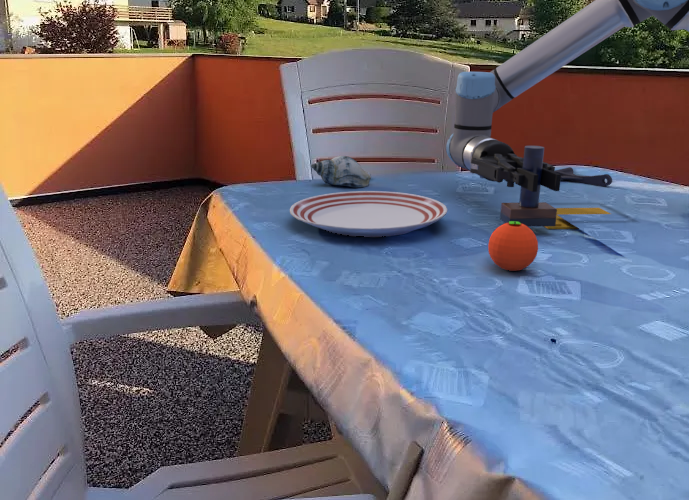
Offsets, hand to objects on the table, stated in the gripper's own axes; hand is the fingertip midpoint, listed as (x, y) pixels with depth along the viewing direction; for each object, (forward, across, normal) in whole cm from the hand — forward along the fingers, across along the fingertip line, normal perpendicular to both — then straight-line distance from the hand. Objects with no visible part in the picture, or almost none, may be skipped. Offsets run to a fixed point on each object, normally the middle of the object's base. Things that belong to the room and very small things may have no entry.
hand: (546, 183), depth 114 cm
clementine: (+13, +11, -10) cm, 20 cm away
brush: (-5, 0, -8) cm, 10 cm away
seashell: (-48, +24, -10) cm, 55 cm away
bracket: (-45, -32, -10) cm, 56 cm away
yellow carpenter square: (-13, -13, -10) cm, 21 cm away
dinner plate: (-14, +26, -10) cm, 31 cm away
